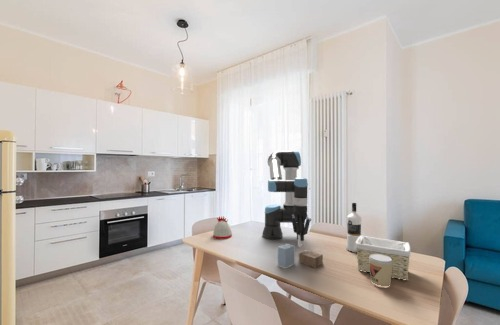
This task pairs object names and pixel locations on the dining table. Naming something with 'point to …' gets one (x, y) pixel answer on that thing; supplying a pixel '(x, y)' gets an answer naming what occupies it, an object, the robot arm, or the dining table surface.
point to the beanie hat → (222, 229)
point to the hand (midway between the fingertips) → (300, 245)
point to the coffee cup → (380, 269)
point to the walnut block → (310, 258)
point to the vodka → (353, 229)
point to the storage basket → (384, 247)
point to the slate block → (286, 255)
